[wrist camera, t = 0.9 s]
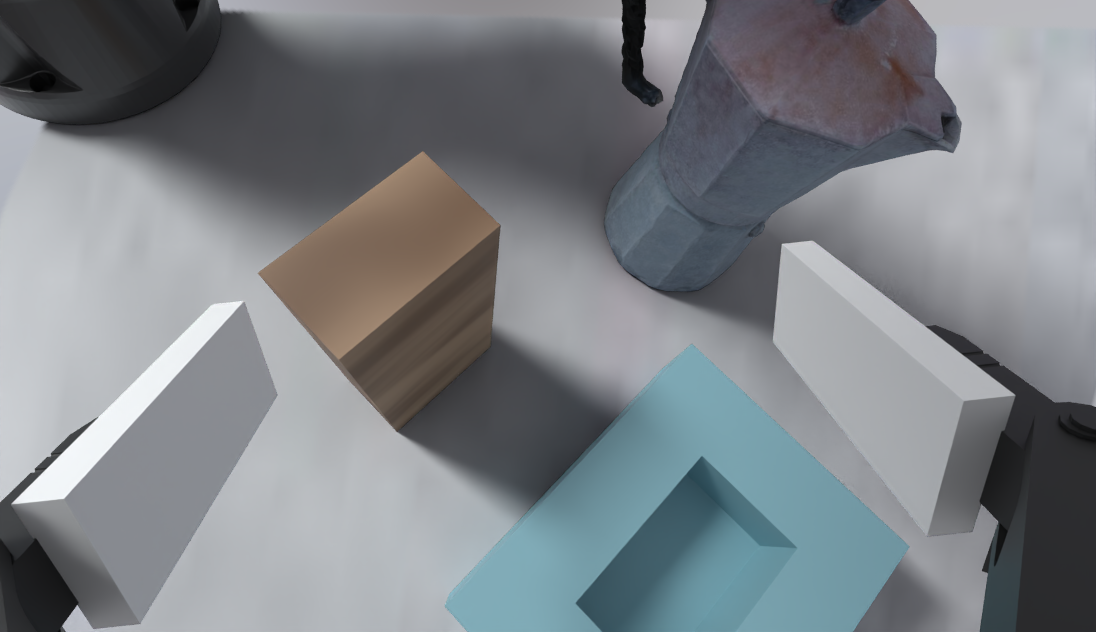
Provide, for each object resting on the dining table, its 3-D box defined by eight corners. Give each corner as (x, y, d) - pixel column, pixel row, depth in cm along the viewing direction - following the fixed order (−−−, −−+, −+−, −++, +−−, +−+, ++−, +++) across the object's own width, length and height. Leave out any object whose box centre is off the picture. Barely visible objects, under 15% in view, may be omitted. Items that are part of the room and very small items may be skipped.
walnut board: (348, 380, 34) (257, 272, 20) (443, 299, 36) (422, 150, 22) (397, 431, 33) (338, 359, 19) (490, 346, 35) (500, 225, 21)
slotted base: (449, 594, 31) (444, 606, 26) (663, 367, 36) (691, 343, 31) (653, 820, 28) (688, 878, 24) (849, 543, 34) (909, 546, 29)
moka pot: (735, 353, 37) (1007, 171, 18) (523, 220, 38) (570, -79, 19) (797, 238, 40) (1082, -18, 21) (599, 119, 41) (704, -221, 23)
